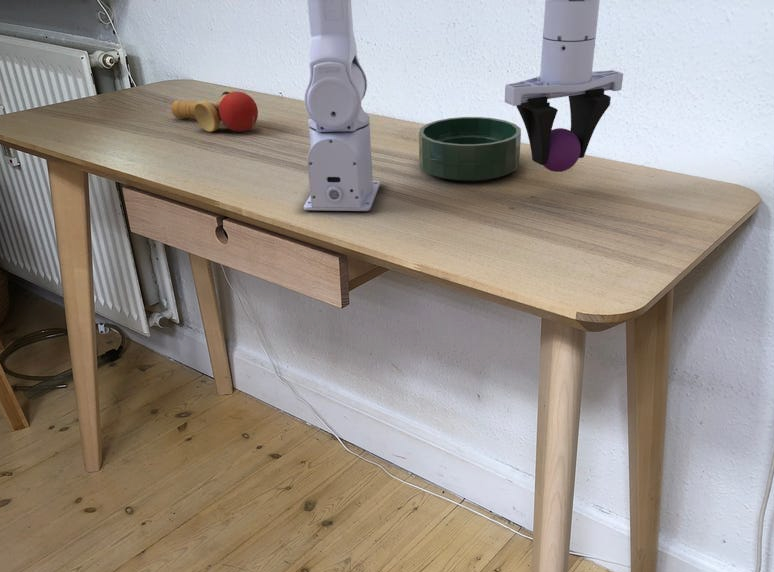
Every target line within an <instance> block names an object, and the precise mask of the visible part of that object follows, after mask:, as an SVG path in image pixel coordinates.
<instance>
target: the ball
mask: <svg viewBox="0 0 774 572" xmlns="http://www.w3.org/2000/svg"><path fill="white" fill-rule="evenodd" d="M570 130H571V129H568V128H564V127H557V128H554V129H553V128H552V130H551V135H550V142H549V153H548V159H547V163H546V164H544V165H542V166H543V167H544V168H545V169H546V170H549V171H550V172H555V173H561V172H565V171H568V170H571V168H572V167H574V166H575V165H576V163H578V160H579V159H580V158H579V156H580V151H581V147H580V142H579V140H578V138H577V136H576V135H575V134H574V133H573V132H571V131H570Z"/></svg>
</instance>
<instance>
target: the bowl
mask: <svg viewBox="0 0 774 572" xmlns="http://www.w3.org/2000/svg"><path fill="white" fill-rule="evenodd" d="M521 140H522V128H521V127H519V125H517V124H516V123H513V122H511V121H508V120H505V119H499V118H494V117H483V116H459V117H449V118H444V119H443V118H442V119H438V120H434V121H431V122H429V123H426V124H424V125H423V126H422V127H420V128H419V132H418V163H419V164H418V165H419V167H420V169H421V170H422V171H423V172H425V173H427V174H429V175H431V176H434V177H438V178H441V179H444V180H449V181H454V182H455V181H456V182H483V181H489V180H494V179H497V178H499V177H505V176H508V175H509V174H511V173H513V172H515V171H516V170H517V169H518V168H519V167H520V161H521V160H520V158H521Z"/></svg>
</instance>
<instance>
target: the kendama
mask: <svg viewBox="0 0 774 572" xmlns="http://www.w3.org/2000/svg"><path fill="white" fill-rule="evenodd" d="M257 105H258V104H257V103H256V102H255V99H254V98H252V97H251V96H250V95H249V94H247V93H246V92H243V91H235V90H234V89H227V90H224V91H223V92H222V94H221V96H220V99H219V100H217V101H216V102H210V101H209V100H205V99H202V100H199V101H191V100H190V101H189V100H183V99H176V100H174V101H173V102H172V104H171V113H172V115H173V116H174V117H175V119H176V118H177V119H178V120H179V119H190V118H195V120H196V121H197V123H198V125H199V126H200V127H201V128H202V129H203V130H205V132H208V133H212V132H215V131H217V130H219V128H220V127H221V122H222V124H223V125H224V126H225V127H226V128H227V129H229V130H231V131H232V132H238V133H241V132H243V133H244V132H246V131H250V130H251V129H253V127H254V126H255V125H256V123H257V120H258V117H259V109H258V106H257Z"/></svg>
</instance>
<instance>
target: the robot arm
mask: <svg viewBox="0 0 774 572" xmlns="http://www.w3.org/2000/svg"><path fill="white" fill-rule="evenodd" d="M306 2H307V11H308V20H309V21H308V22H309V31H310V47H309V61H308V62H309V63H308V64H309V81H308V83H307V86H306V89H305V91H304V106H305V111H306V112H307V114H308V116H309V118H308V119H307V123H308V135H309V141H310V142H309V143H310V149H309V151H308V154H307V159H306V163H307V173H308V174H307V175H308V183H309V184H308V186H309V194H310V195H309V197H308V198H307V199H306V201H305V203H304V205H303V210H304V211H323V212H324V211H327V212H328V211H329V212H330V211H331V212H335V211H336V212H369V211H370V210H371V209H372V206H373V204H374V201H375V199H376V196H377V194H378V191H379V188H380V186H381V181H380V180H374V179H373V178H374V177H373V160H372V159H373V158H372V157H373V156H372V141H371V140H372V139H371V123H370V121H371V120H370V115H368V114H367V113H366V112H365V110H364V109H363V106H362V102H363V99H364V98H365V96H366V93H367V90H368V79H367V76H366V73H365V71H364V69H363V67H362V65H361V63H360V62H359V58H358V51H357V49H358V48H357V41H356V38H355V32H354V23H353V8H352V0H306ZM599 10H600V0H544V15H543V29H542V42H541V58H540V72H539V76H536V77H535V76H534V77H532V78H529V79H528V78H527V79H525V80H521V81H517V82H512V83H507V84H505V85H504V103H506V104H508V105H510V106H512V107H516V108H517V111H518V113H519V115H520V117H521V120H522V121H523V124H524V127H525V130H526V133H527V137H528V141H529V146H530V151H531V152H530V153H531V160H532V162H534V163H536V164H539V165H541V166H543V165H544V164H546V163H547V159H548V153H549V142H550V135H551V130H553V126H554V122H555V119H556V116H557V113H558V108H556V107H554V106H551V102H548V100H550V99H551V100H552V99H558V98H559V99H560V98H566V97H567V98H568V102H569V112H570V129H569V130H570V131H571V132H573V133H574V134H575V135H576V136H577V138H578V140H579V142H580V147H581V151H580V156H579V158H578V159H583V158H585V155H586V152H587V150H588V147H589V144H590V141H591V139H592V136H593V134H594V132H595V129H596V128H597V125H598V124H599V122H600V121H601V118H602V117H603V115H604V114H605V112H606V111H607V110H608V108H609V107H610V106H611V99H612V97H611V96H610V95H607V94H605V92H607V91H611V92H618V91H622V87H623V80H624V73H623V72H621V71H618V70H615V69H611V70H599V71H597V70H596V71H593V67H594V57H595V49H596V39H597V31H598V30H597V28H598V20H599Z"/></svg>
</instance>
